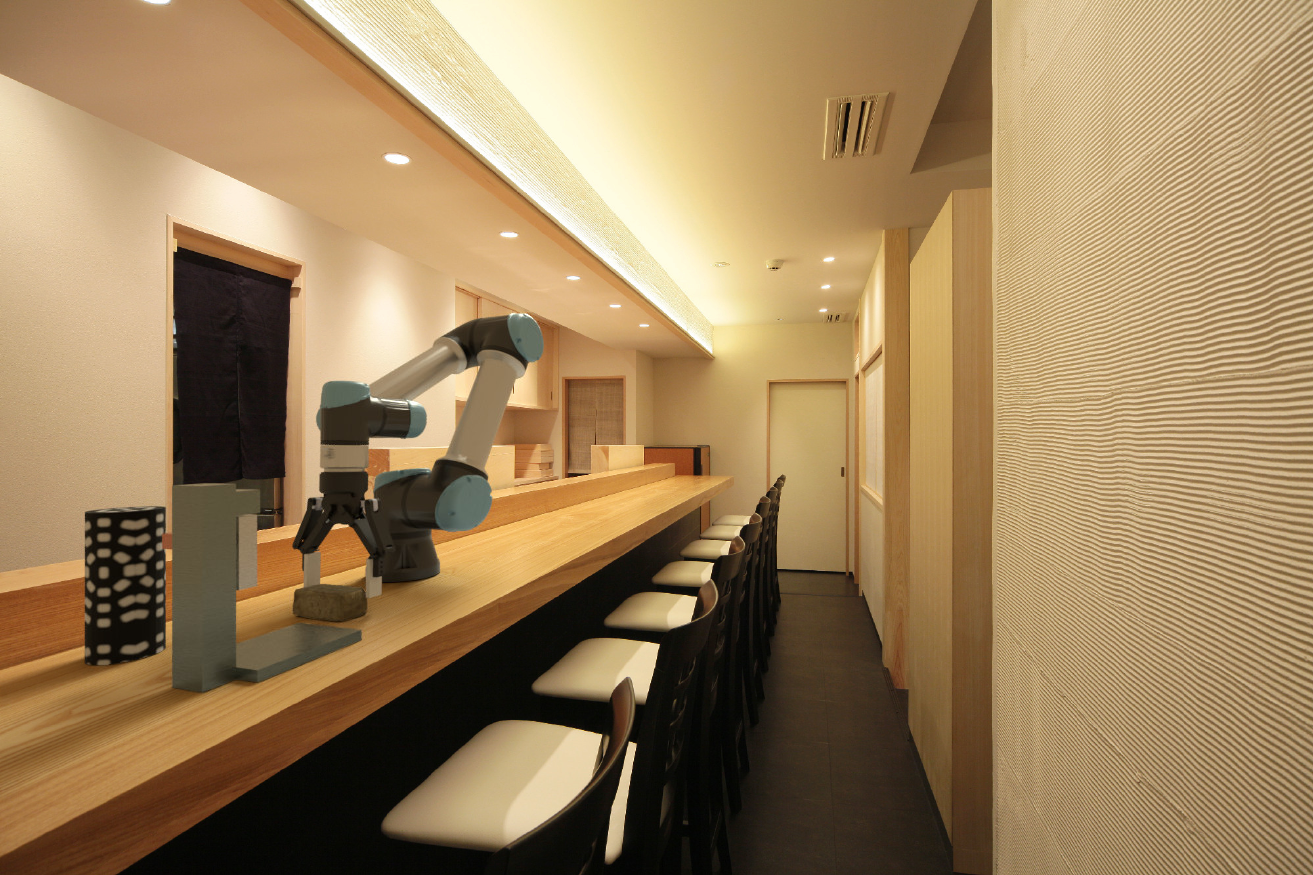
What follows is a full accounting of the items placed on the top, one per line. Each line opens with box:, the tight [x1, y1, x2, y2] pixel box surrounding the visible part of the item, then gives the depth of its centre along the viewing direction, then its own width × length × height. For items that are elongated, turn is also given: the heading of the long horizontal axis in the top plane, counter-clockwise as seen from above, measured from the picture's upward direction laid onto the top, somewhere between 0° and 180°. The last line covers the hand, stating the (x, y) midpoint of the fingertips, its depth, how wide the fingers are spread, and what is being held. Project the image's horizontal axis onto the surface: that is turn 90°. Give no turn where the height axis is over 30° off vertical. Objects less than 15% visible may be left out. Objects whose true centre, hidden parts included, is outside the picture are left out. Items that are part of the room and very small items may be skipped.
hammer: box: [162, 514, 258, 591], centre depth 77 cm, size 4×13×9 cm, turn 72°
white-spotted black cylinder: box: [84, 505, 167, 666], centre depth 81 cm, size 8×8×20 cm
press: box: [171, 482, 363, 694], centre depth 78 cm, size 20×12×24 cm, turn 162°
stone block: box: [292, 583, 368, 622], centre depth 98 cm, size 6×12×5 cm, turn 71°
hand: (342, 593), depth 101 cm, fingers open, 13 cm apart
